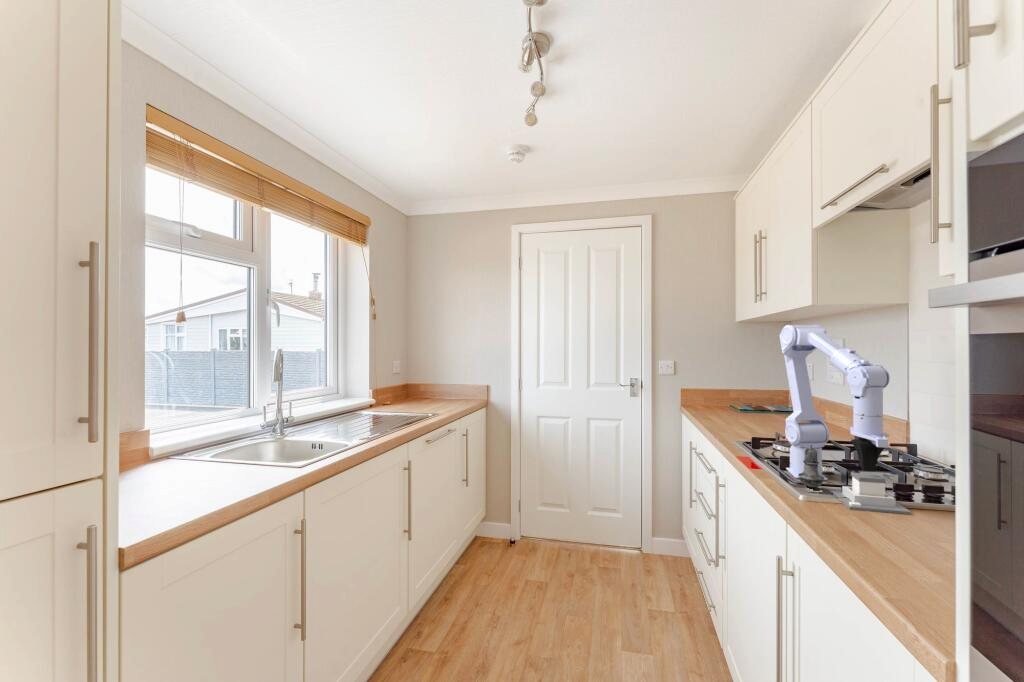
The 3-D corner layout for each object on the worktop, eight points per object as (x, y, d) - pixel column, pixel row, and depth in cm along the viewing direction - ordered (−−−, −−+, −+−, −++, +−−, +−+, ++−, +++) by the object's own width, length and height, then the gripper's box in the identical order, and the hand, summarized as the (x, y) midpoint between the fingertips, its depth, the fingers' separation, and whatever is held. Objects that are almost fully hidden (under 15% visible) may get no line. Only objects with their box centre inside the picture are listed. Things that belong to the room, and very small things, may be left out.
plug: (852, 496, 113) (852, 472, 113) (876, 498, 112) (876, 474, 112) (859, 502, 110) (859, 477, 109) (885, 504, 108) (885, 479, 108)
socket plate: (829, 492, 118) (829, 482, 118) (884, 496, 115) (884, 486, 115) (849, 509, 107) (849, 498, 107) (911, 514, 103) (911, 503, 103)
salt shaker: (829, 493, 117) (829, 447, 117) (806, 493, 117) (806, 447, 117) (815, 486, 123) (814, 442, 123) (793, 486, 123) (793, 442, 123)
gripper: (903, 420, 102) (903, 480, 102) (872, 410, 116) (872, 463, 116) (867, 419, 104) (867, 478, 104) (840, 409, 118) (841, 461, 118)
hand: (867, 470), depth 111 cm, fingers closed
